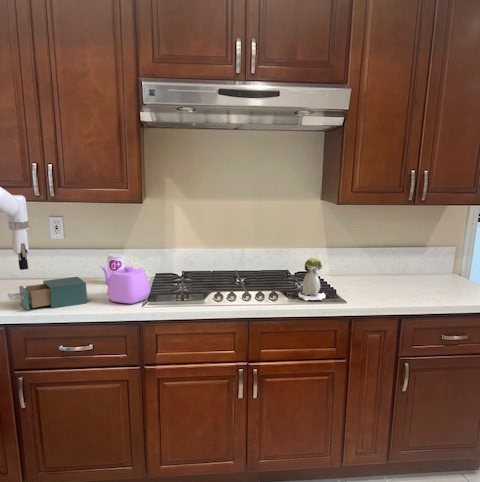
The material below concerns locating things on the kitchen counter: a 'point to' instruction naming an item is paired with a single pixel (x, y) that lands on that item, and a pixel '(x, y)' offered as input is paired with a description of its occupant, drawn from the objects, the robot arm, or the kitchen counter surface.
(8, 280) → the kitchen counter surface
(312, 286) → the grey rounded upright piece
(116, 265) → the supplement can
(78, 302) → the cabinet
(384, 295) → the kitchen counter surface
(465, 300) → the kitchen counter surface
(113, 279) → the teapot
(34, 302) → the drawer
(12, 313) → the kitchen counter surface
